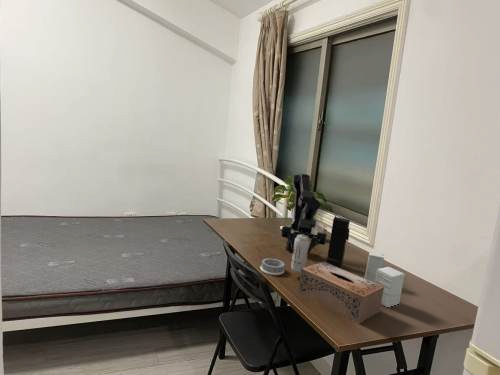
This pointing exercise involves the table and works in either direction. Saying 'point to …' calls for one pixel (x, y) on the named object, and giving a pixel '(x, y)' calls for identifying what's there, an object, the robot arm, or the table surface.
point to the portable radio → (338, 241)
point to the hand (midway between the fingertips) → (300, 253)
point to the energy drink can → (300, 253)
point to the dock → (272, 266)
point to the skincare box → (373, 266)
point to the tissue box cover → (341, 291)
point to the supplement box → (390, 285)
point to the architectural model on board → (319, 229)
